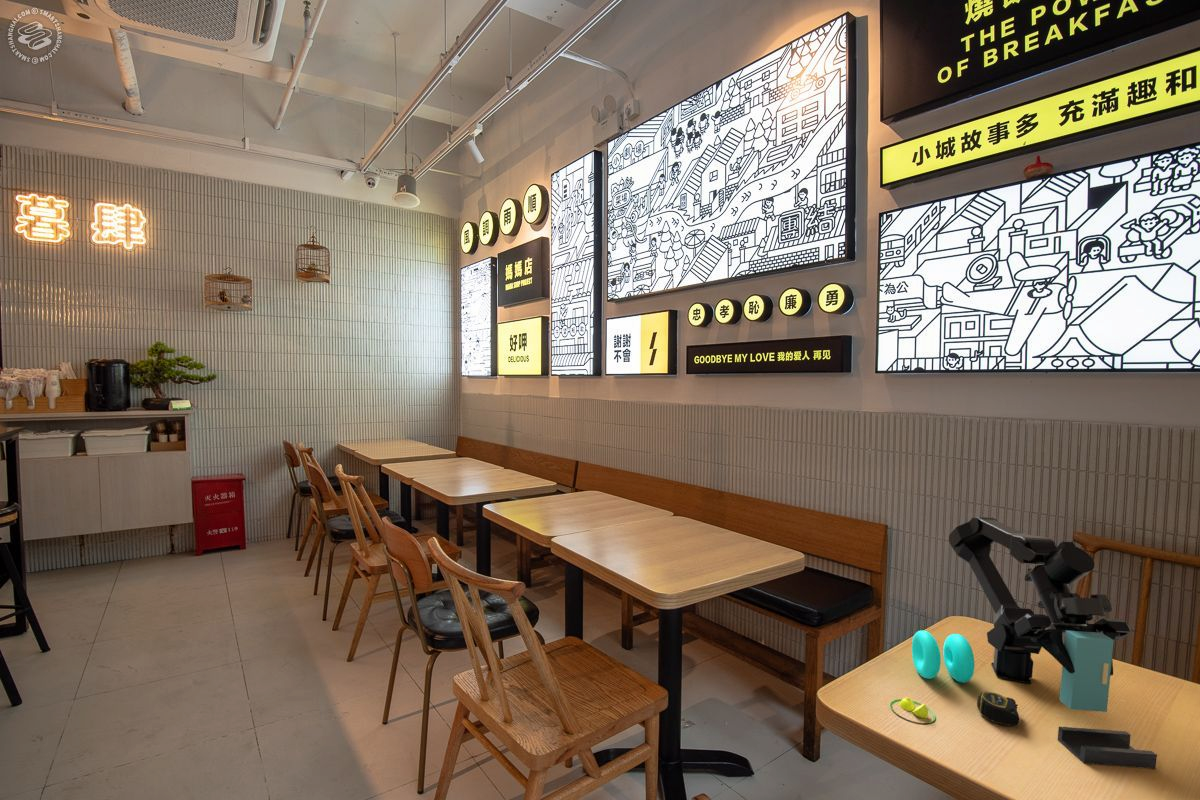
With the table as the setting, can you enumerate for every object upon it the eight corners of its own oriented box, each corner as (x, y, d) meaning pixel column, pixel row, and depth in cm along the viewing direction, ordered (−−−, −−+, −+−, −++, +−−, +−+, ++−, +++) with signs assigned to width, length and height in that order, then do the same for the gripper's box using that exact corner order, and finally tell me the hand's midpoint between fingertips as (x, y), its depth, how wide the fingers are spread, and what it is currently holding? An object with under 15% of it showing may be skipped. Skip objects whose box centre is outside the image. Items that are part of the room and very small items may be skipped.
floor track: (1057, 739, 109) (1058, 726, 109) (1124, 744, 108) (1126, 731, 108) (1083, 763, 103) (1085, 749, 102) (1155, 768, 102) (1157, 754, 102)
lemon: (940, 714, 116) (941, 701, 116) (927, 731, 111) (928, 717, 111) (898, 697, 122) (899, 684, 122) (884, 712, 117) (885, 699, 116)
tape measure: (1018, 733, 111) (1020, 714, 111) (976, 720, 115) (977, 702, 114) (1016, 715, 117) (1018, 698, 116) (976, 703, 120) (977, 686, 120)
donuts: (975, 692, 124) (978, 647, 124) (925, 686, 126) (928, 642, 125) (954, 668, 134) (957, 626, 134) (908, 663, 136) (911, 622, 135)
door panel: (1059, 700, 113) (1065, 630, 112) (1094, 702, 112) (1101, 632, 111) (1071, 710, 109) (1078, 638, 109) (1107, 712, 109) (1114, 640, 108)
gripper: (1028, 574, 114) (1064, 656, 104) (1128, 579, 113) (1175, 663, 102) (1000, 597, 122) (1031, 675, 112) (1093, 602, 121) (1133, 682, 111)
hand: (1091, 673), depth 109 cm, fingers closed on door panel, 6 cm apart
